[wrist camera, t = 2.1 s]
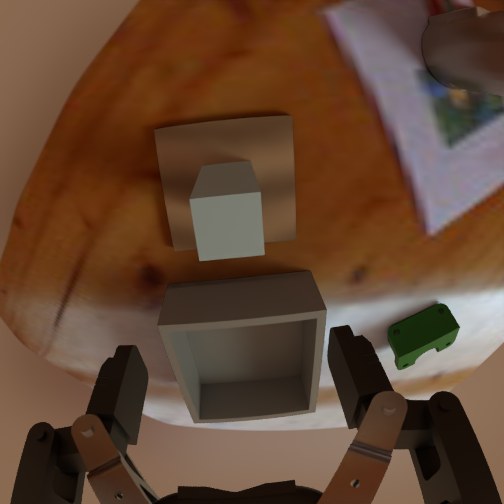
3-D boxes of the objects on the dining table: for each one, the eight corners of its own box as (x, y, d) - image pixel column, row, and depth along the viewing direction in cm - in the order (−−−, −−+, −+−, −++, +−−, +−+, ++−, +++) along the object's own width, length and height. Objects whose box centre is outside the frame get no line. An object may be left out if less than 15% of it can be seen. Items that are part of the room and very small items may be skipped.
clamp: (388, 325, 51) (387, 372, 46) (387, 307, 48) (387, 358, 42) (451, 320, 47) (455, 367, 41) (456, 302, 43) (462, 352, 37)
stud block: (155, 128, 30) (139, 136, 24) (290, 114, 30) (303, 119, 25) (175, 247, 37) (166, 276, 31) (294, 236, 37) (306, 263, 31)
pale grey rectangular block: (202, 165, 31) (189, 199, 22) (250, 160, 32) (260, 191, 22) (207, 210, 34) (199, 261, 24) (254, 206, 34) (264, 254, 24)
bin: (168, 284, 39) (157, 325, 32) (310, 270, 39) (326, 309, 32) (196, 383, 48) (194, 423, 41) (305, 373, 49) (315, 412, 42)
